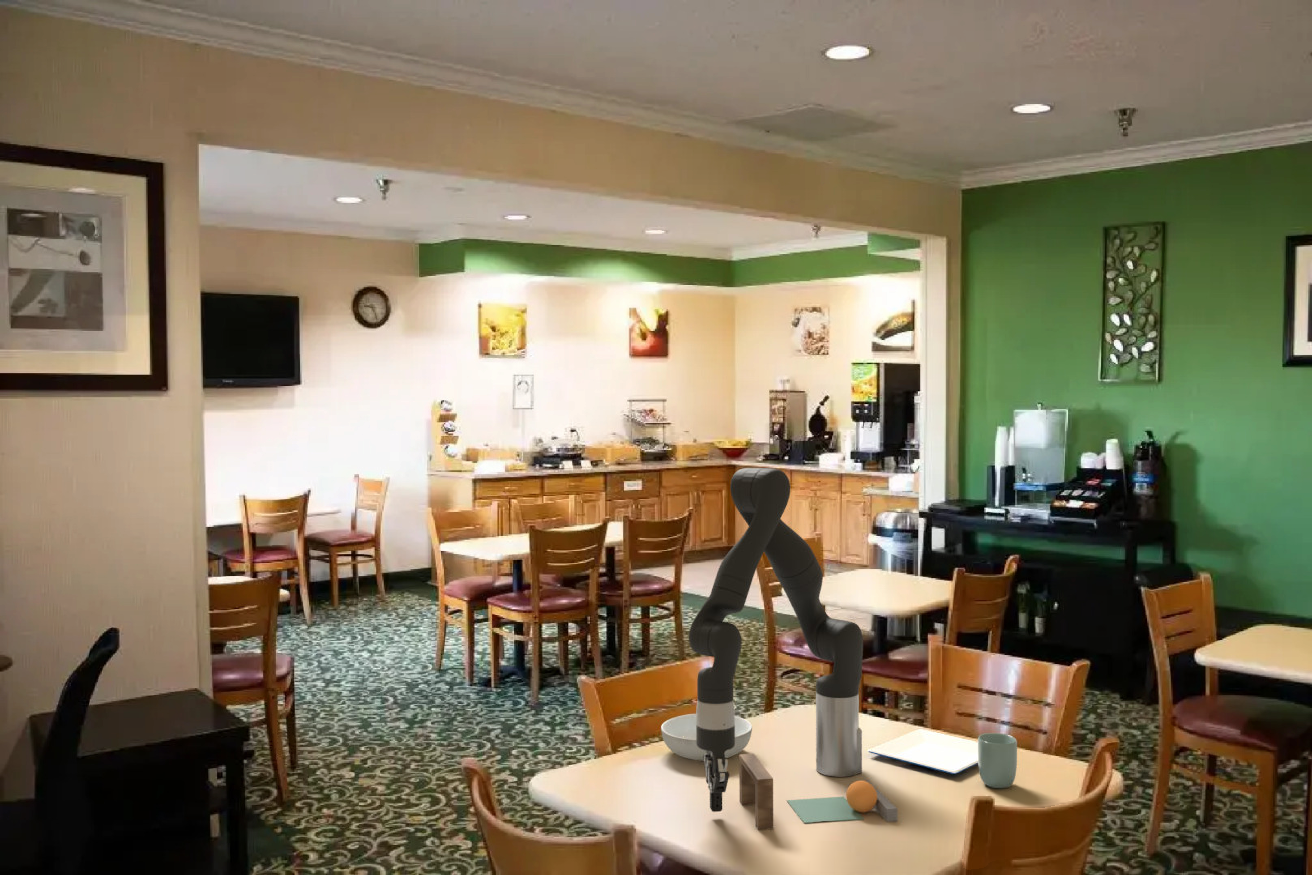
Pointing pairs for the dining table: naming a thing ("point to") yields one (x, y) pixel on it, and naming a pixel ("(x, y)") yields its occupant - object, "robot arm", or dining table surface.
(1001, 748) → the cup
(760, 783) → the bridge
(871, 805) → the ball
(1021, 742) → the dining table surface
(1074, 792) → the dining table surface
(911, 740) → the plate
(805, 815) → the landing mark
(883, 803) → the stopper
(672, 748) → the serving bowl
